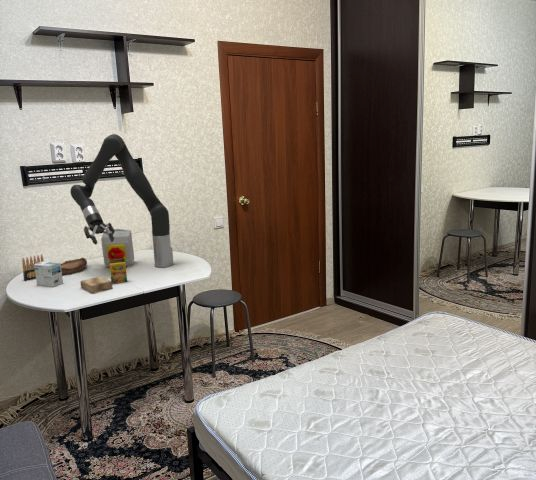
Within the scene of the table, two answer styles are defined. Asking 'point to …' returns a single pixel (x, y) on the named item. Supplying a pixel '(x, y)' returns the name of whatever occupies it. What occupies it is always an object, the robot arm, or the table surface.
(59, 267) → the light bulb box
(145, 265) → the table surface
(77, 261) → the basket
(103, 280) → the tray
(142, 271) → the table surface
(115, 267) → the crayon box
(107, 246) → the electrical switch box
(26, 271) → the ammunition clip
